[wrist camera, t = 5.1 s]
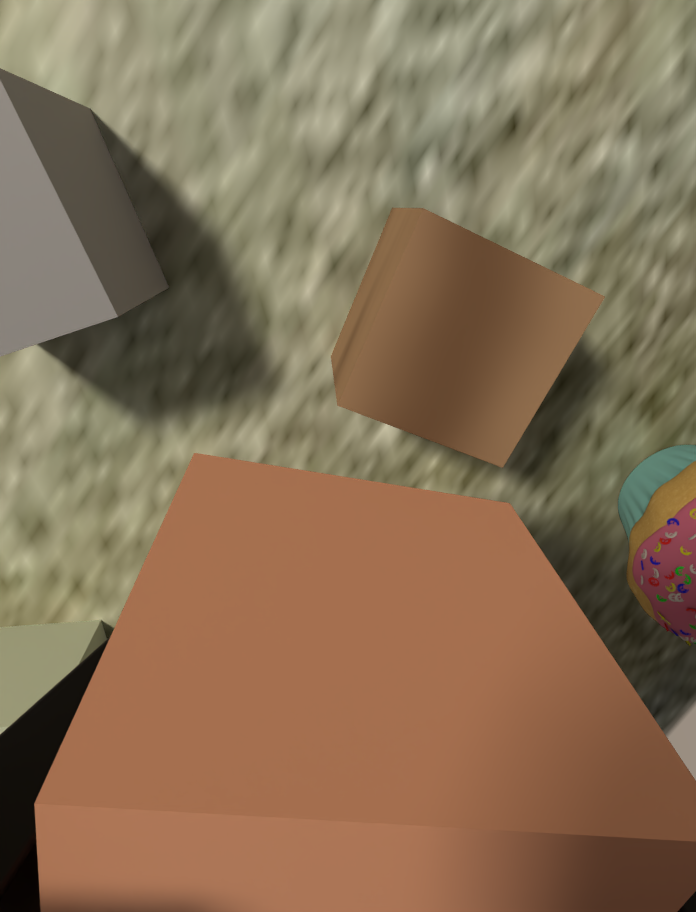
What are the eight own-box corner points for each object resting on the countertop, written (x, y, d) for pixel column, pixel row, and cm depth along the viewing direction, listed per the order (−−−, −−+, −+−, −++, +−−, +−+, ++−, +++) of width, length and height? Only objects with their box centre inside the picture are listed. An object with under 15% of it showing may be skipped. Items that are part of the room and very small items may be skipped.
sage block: (101, 618, 24) (48, 723, 19) (127, 701, 27) (86, 812, 22) (-20, 627, 24) (-104, 735, 19) (17, 709, 27) (-50, 825, 22)
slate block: (90, 109, 16) (-7, 65, 11) (169, 287, 18) (117, 316, 13) (-71, 168, 16) (-236, 151, 11) (26, 335, 19) (-75, 381, 14)
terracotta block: (510, 503, 9) (737, 843, 4) (425, 714, 12) (512, 1095, 7) (194, 452, 8) (34, 803, 4) (170, 691, 11) (53, 1107, 6)
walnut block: (528, 273, 19) (605, 296, 14) (457, 406, 21) (502, 467, 16) (391, 207, 18) (423, 208, 13) (330, 355, 20) (337, 405, 15)
